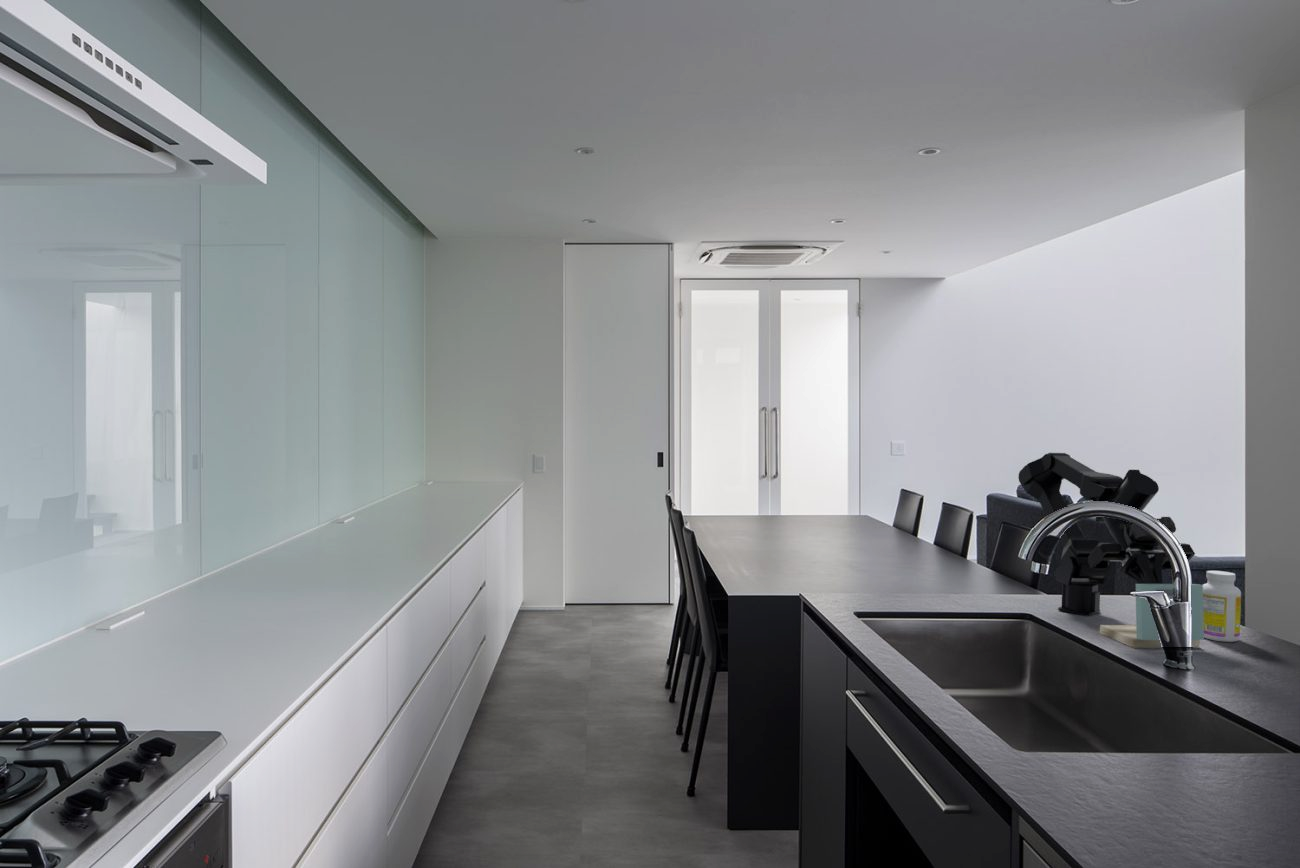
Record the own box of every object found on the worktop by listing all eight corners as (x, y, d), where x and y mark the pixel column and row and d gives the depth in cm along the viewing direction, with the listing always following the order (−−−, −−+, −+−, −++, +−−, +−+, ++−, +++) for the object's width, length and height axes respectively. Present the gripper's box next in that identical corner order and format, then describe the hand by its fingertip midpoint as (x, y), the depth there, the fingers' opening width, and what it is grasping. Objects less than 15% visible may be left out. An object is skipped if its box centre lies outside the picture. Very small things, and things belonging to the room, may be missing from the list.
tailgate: (1136, 638, 154) (1135, 583, 155) (1197, 638, 155) (1196, 584, 156) (1145, 640, 152) (1144, 585, 152) (1207, 640, 153) (1206, 585, 153)
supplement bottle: (1226, 634, 166) (1229, 570, 165) (1247, 643, 159) (1250, 576, 159) (1191, 632, 166) (1193, 568, 166) (1209, 642, 160) (1212, 575, 159)
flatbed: (1099, 633, 164) (1099, 625, 164) (1162, 633, 165) (1162, 625, 165) (1133, 647, 154) (1133, 639, 154) (1199, 647, 156) (1199, 639, 155)
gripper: (1098, 501, 161) (1134, 569, 150) (1190, 502, 163) (1231, 569, 152) (1073, 535, 169) (1105, 602, 158) (1160, 536, 171) (1198, 602, 160)
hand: (1160, 593), depth 157 cm, fingers closed
